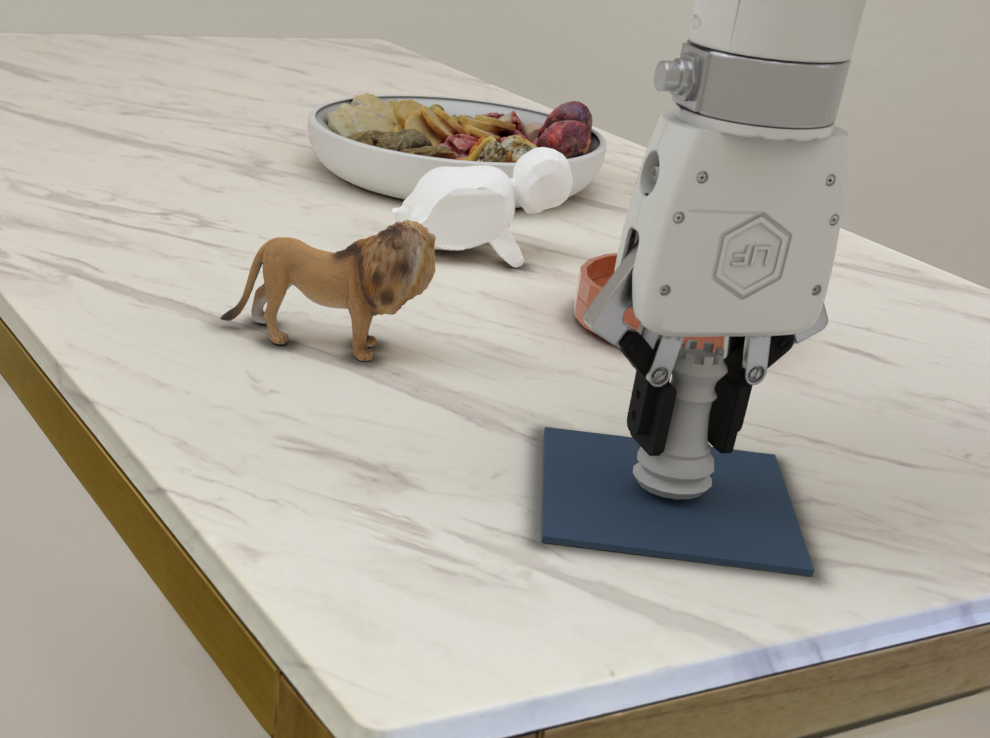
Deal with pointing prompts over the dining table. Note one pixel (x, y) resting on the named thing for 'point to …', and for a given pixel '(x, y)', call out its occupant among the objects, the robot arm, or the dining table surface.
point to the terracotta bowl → (595, 279)
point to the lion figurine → (343, 278)
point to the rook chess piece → (686, 428)
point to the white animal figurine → (486, 201)
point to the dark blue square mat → (669, 507)
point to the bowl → (445, 138)
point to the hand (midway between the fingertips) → (680, 441)
